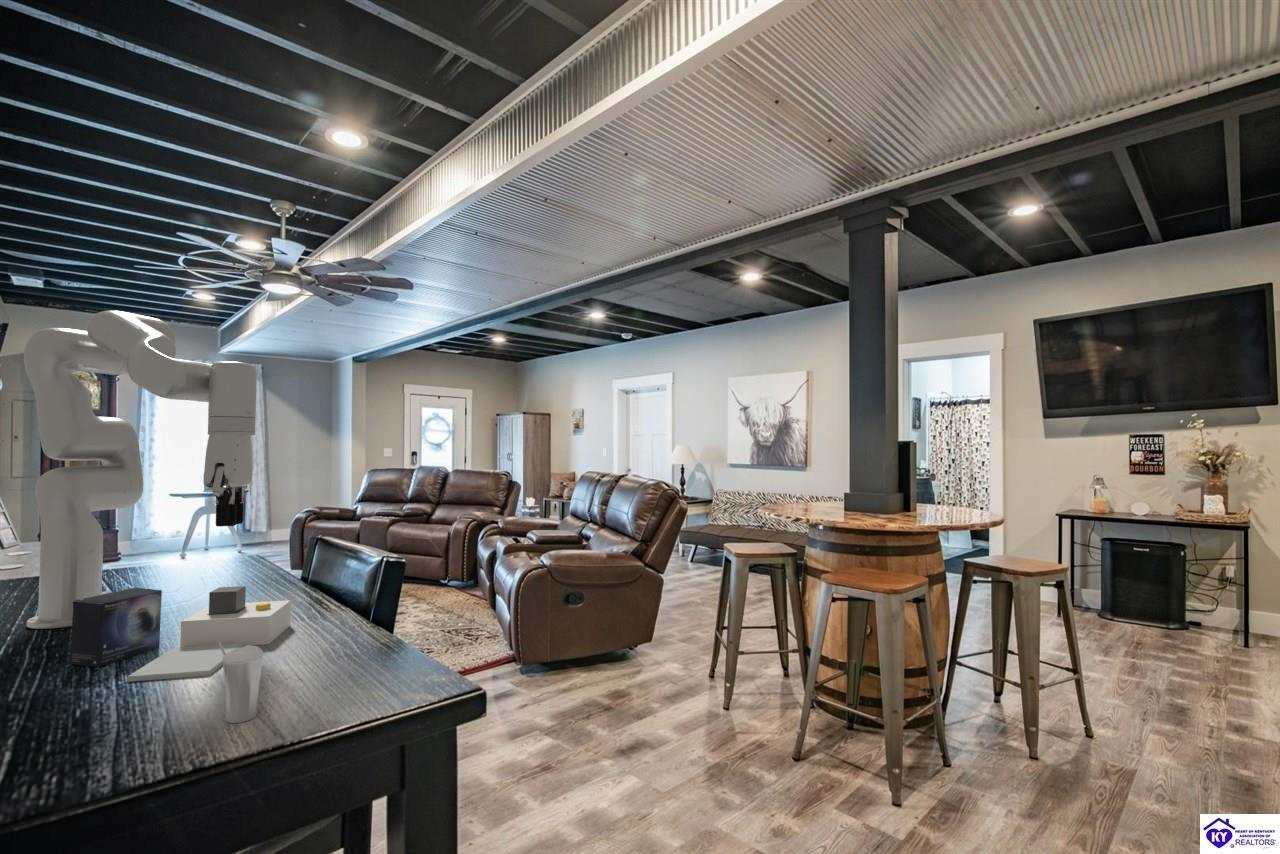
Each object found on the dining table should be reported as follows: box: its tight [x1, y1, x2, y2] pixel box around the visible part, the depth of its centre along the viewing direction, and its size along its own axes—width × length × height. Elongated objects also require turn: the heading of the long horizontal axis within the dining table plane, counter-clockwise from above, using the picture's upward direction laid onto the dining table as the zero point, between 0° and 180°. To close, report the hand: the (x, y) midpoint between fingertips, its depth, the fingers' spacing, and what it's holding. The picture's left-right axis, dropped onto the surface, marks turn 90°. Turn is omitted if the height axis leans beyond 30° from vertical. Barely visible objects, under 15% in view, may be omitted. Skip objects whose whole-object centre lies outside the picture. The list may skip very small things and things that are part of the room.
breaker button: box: [208, 585, 247, 615], centre depth 115 cm, size 4×4×6 cm
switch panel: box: [179, 599, 292, 647], centre depth 115 cm, size 12×14×6 cm
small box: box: [68, 587, 163, 668], centre depth 105 cm, size 11×6×10 cm, turn 168°
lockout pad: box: [126, 643, 245, 683], centre depth 101 cm, size 14×11×1 cm
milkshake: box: [218, 642, 265, 724], centre depth 81 cm, size 4×5×10 cm
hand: (229, 524), depth 115 cm, fingers closed
